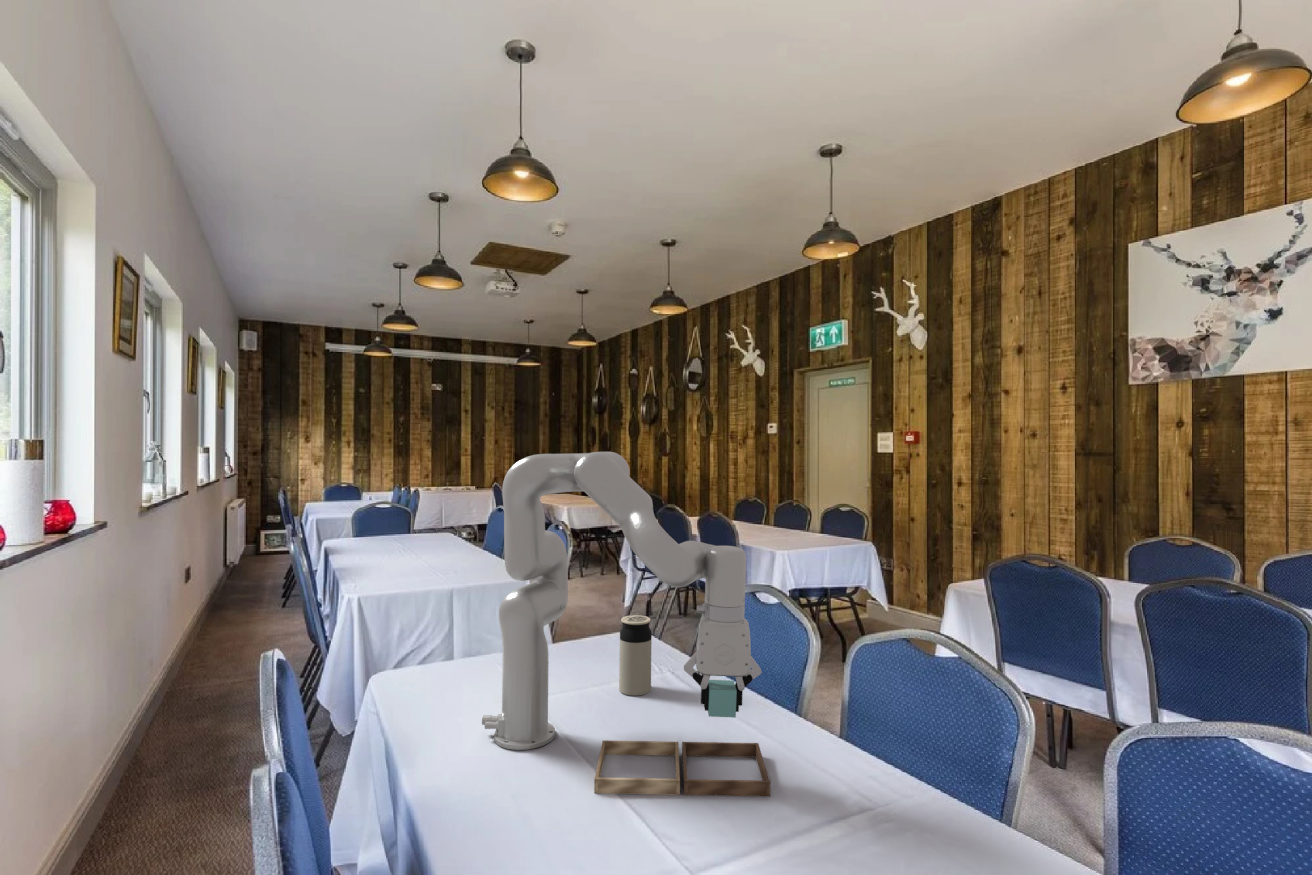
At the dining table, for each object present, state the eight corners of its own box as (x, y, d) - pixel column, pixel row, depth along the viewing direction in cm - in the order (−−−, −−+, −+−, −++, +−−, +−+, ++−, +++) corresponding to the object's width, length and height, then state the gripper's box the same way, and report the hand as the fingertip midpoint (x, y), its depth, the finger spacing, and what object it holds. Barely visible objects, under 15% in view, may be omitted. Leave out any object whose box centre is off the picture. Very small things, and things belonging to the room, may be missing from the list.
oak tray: (594, 793, 117) (594, 779, 117) (602, 752, 132) (602, 740, 132) (679, 794, 117) (679, 780, 117) (678, 754, 132) (678, 741, 132)
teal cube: (708, 716, 122) (709, 689, 122) (706, 705, 127) (707, 679, 127) (735, 717, 122) (736, 690, 122) (732, 706, 127) (733, 680, 127)
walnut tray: (684, 794, 117) (684, 780, 117) (682, 754, 132) (682, 741, 132) (770, 796, 117) (770, 782, 117) (758, 755, 132) (758, 743, 132)
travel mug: (656, 688, 167) (657, 617, 167) (639, 699, 160) (640, 624, 160) (631, 682, 171) (631, 613, 171) (612, 692, 164) (613, 619, 165)
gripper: (679, 615, 121) (676, 714, 121) (772, 619, 121) (769, 718, 121) (678, 605, 129) (675, 698, 129) (766, 608, 128) (763, 702, 128)
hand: (721, 707), depth 125 cm, fingers closed on teal cube, 5 cm apart
